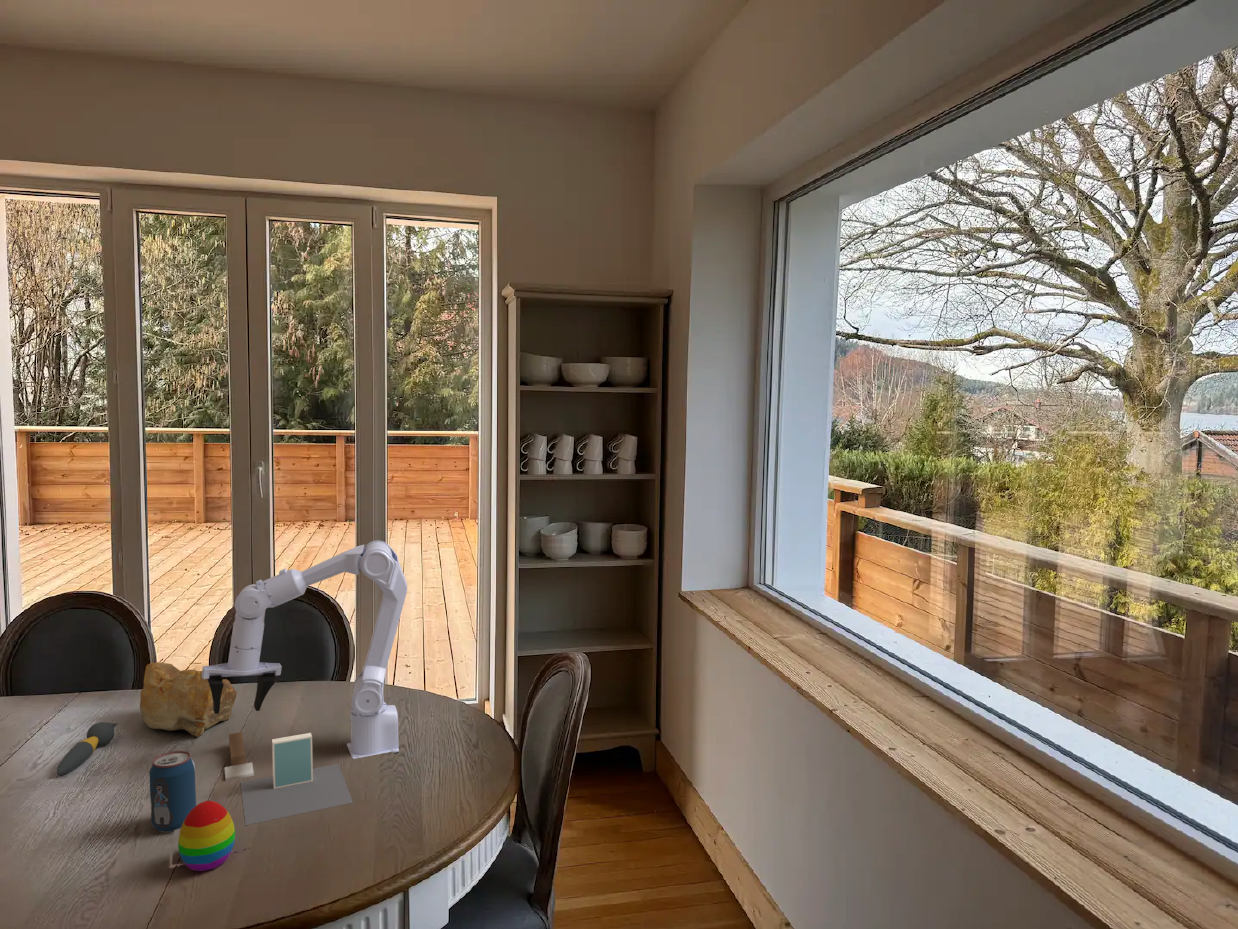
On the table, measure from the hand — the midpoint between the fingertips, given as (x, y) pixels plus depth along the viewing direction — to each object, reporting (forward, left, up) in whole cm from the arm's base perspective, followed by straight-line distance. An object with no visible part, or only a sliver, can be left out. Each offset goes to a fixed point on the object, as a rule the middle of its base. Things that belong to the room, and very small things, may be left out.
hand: (236, 710), depth 165 cm
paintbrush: (+27, -16, -11) cm, 34 cm away
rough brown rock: (+7, -25, -11) cm, 28 cm away
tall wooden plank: (0, 0, -11) cm, 11 cm away
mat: (-9, +19, -11) cm, 24 cm away
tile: (-9, +15, -10) cm, 20 cm away
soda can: (+11, +20, -11) cm, 26 cm away
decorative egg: (+6, +35, -11) cm, 38 cm away
